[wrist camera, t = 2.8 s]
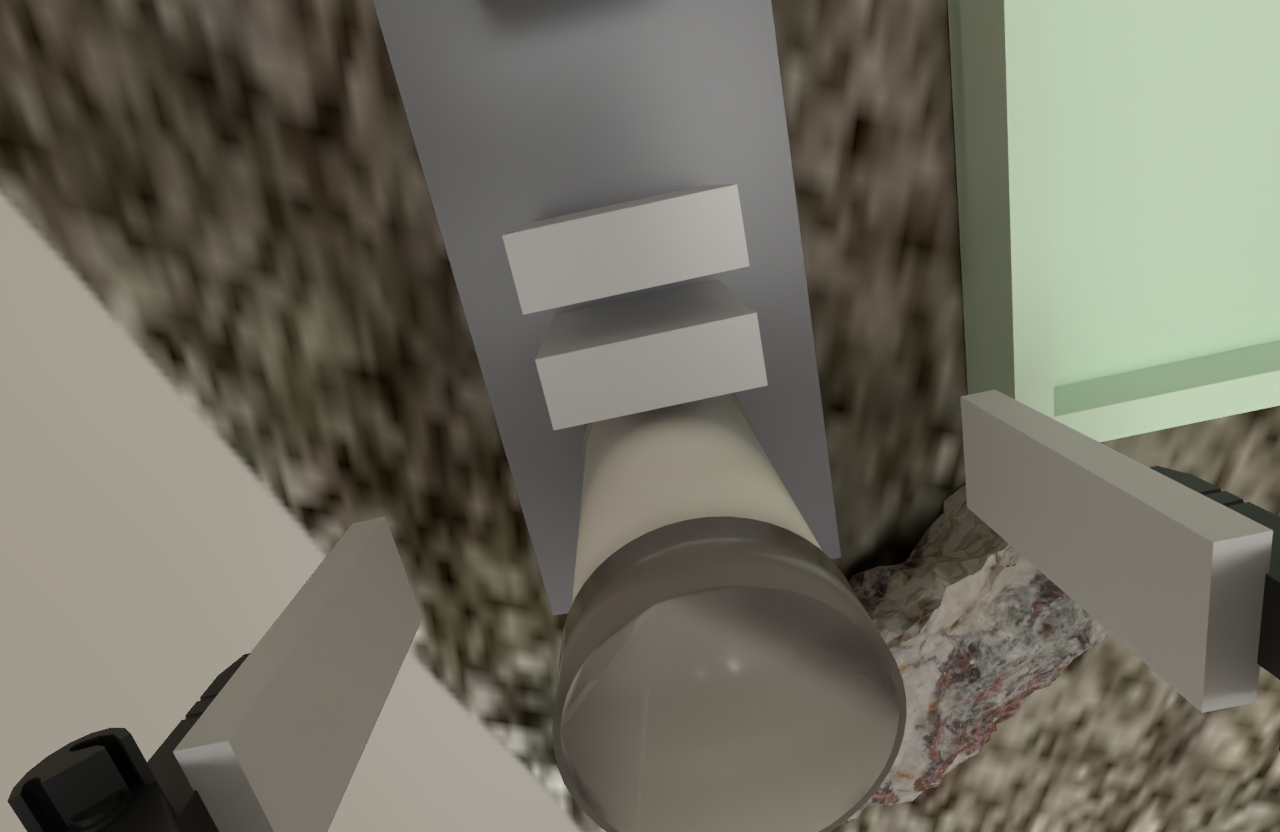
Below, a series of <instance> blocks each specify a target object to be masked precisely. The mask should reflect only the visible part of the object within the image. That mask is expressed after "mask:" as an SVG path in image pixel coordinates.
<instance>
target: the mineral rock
mask: <svg viewBox="0 0 1280 832" xmlns="http://www.w3.org/2000/svg"><path fill="white" fill-rule="evenodd" d="M848 582H849V583H850V585H851V587H852V588H853V590H854V592H855V593H856V595H857V596H858V598H859V600H860V601H861V603H862V605H863V606H864V608H865V610H866V611H867V613H868V615H869V616H870V618H871V620H872V621H873V623H874V625H875V626H876V628H877V629H878V631H879V633H880V634H881V636H882V638H883V639H884V641H885V643H886V644H887V646H888V648H889V650H890V651H891V653H892V655H893V657H894V659H895V660H896V662H897V665H898V668H899V670H900V673H901V676H902V679H903V683H904V689H905V694H906V714H907V717H906V724H905V731H904V736H903V740H902V743H901V746H900V750H899V753H898V755H897V757H896V759H895V761H894V764H893V766H892V768H891V770H890V772H889V773H888V775H887V776H886V778H885V779H884V781H883V782H882V784H881V786H880V787H879V788H878V789H877V791H876V792H875V793H874V794H873V795H872V797H871V798H870V799H869V800H868V801H867V802H866V803H865V804H864V805H863V806H862V807H861V808H860V809H859V810H858V811H857V812H856V813H855V814H854V815H852V816H851V817H850V818H849V819H847V820H846V821H845V822H843V823H842V824H844V823H849V822H853V821H855V820H857V819H859V818H860V816H861V813H862V811H863V809H864V808H865V807H867V806H892V805H895V804H898V803H902V802H908V801H913V800H914V799H915V798H916V797H917V796H918V795H920V794H921V793H922V792H923V791H924V790H925V789H927V788H932V787H936V786H939V785H940V784H941V783H942V781H943V780H944V779H945V777H946V776H947V774H948V773H949V772H950V771H952V770H954V769H955V768H956V767H957V765H959V764H960V763H962V762H964V761H965V760H966V759H967V758H968V757H971V756H974V755H976V754H977V753H978V752H980V750H981V749H982V747H983V746H984V745H985V743H987V742H988V741H989V740H990V737H991V733H992V732H995V731H996V725H995V724H997V723H999V722H1002V721H1004V720H1007V719H1009V718H1012V717H1013V716H1014V715H1015V714H1016V713H1017V711H1018V710H1019V709H1020V707H1021V705H1022V703H1023V701H1024V699H1025V698H1026V697H1027V696H1028V695H1030V694H1031V693H1033V692H1034V691H1035V690H1038V689H1041V688H1044V687H1047V686H1050V684H1051V683H1052V681H1054V680H1056V678H1057V677H1058V676H1059V675H1060V674H1061V672H1062V671H1064V669H1065V668H1066V667H1067V666H1068V665H1069V664H1070V663H1071V662H1072V661H1073V659H1075V658H1076V657H1078V656H1079V655H1080V654H1081V653H1085V652H1086V651H1087V650H1088V649H1089V648H1091V647H1093V646H1095V645H1096V644H1098V643H1100V642H1101V641H1103V640H1104V639H1105V637H1106V635H1107V633H1108V632H1109V631H1108V630H1107V629H1106V628H1104V627H1103V626H1102V625H1101V624H1100V623H1099V622H1098V621H1096V620H1095V619H1094V618H1093V617H1092V616H1091V615H1090V614H1088V613H1087V612H1086V611H1085V610H1084V609H1083V608H1082V607H1080V606H1079V605H1078V604H1077V603H1076V602H1075V601H1074V600H1072V599H1071V598H1070V597H1069V596H1068V595H1067V594H1066V593H1064V592H1063V591H1062V590H1061V589H1060V588H1059V587H1058V586H1056V585H1055V584H1054V583H1053V582H1052V581H1051V580H1050V579H1048V578H1047V577H1046V576H1045V575H1044V574H1043V573H1042V572H1040V571H1039V570H1038V569H1037V568H1036V567H1035V566H1034V565H1033V564H1031V563H1030V562H1029V561H1028V560H1027V559H1026V558H1025V557H1023V556H1022V555H1021V554H1020V553H1019V552H1018V551H1017V550H1015V549H1014V548H1013V547H1012V546H1011V545H1010V544H1009V543H1007V542H1006V541H1005V540H1004V539H1003V538H1002V537H1001V536H999V535H998V534H997V533H996V532H995V531H994V530H993V529H991V528H990V527H989V526H988V525H987V524H986V523H985V522H983V521H982V520H981V519H980V518H979V517H978V516H977V515H975V514H974V513H973V512H972V511H971V510H970V509H969V508H967V496H966V484H965V485H964V486H962V487H960V488H959V489H958V490H957V491H956V492H954V493H953V494H952V495H951V496H949V497H948V498H947V499H946V500H944V513H943V514H942V515H941V516H940V517H939V518H938V519H937V520H936V521H935V522H934V523H933V524H932V525H931V526H930V527H929V528H928V529H927V530H926V531H925V533H924V535H923V536H922V538H921V539H920V541H919V542H918V544H917V545H916V547H915V548H914V550H913V551H912V553H911V554H910V556H909V557H908V559H907V560H906V562H904V563H900V564H897V565H891V566H877V567H875V568H872V569H870V570H867V571H864V572H861V573H858V574H854V575H853V576H852V577H851V579H850V580H849V581H848Z"/></svg>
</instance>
